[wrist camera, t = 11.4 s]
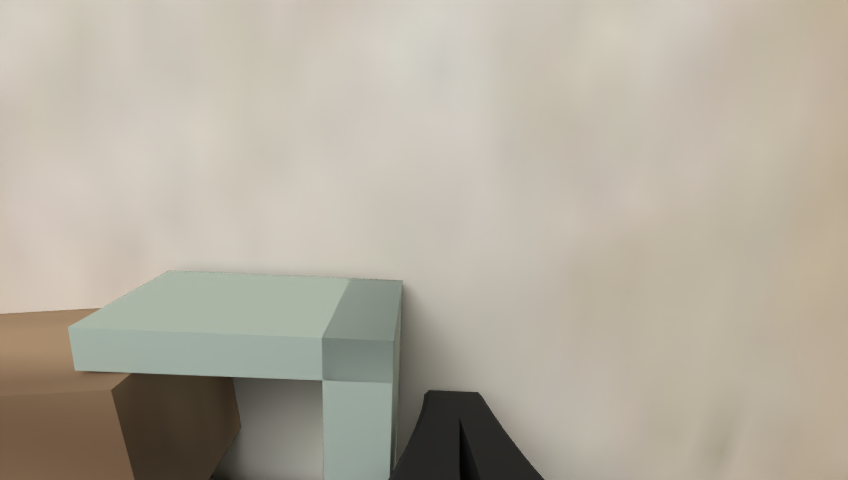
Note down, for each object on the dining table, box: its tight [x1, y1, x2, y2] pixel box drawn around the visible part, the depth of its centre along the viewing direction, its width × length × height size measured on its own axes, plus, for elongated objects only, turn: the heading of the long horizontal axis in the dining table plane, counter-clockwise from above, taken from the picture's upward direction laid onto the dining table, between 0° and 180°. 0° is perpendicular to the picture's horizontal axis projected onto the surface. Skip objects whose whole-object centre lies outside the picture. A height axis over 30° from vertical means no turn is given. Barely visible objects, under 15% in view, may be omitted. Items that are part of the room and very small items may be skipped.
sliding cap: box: [68, 271, 402, 480], centre depth 10 cm, size 7×5×3 cm
